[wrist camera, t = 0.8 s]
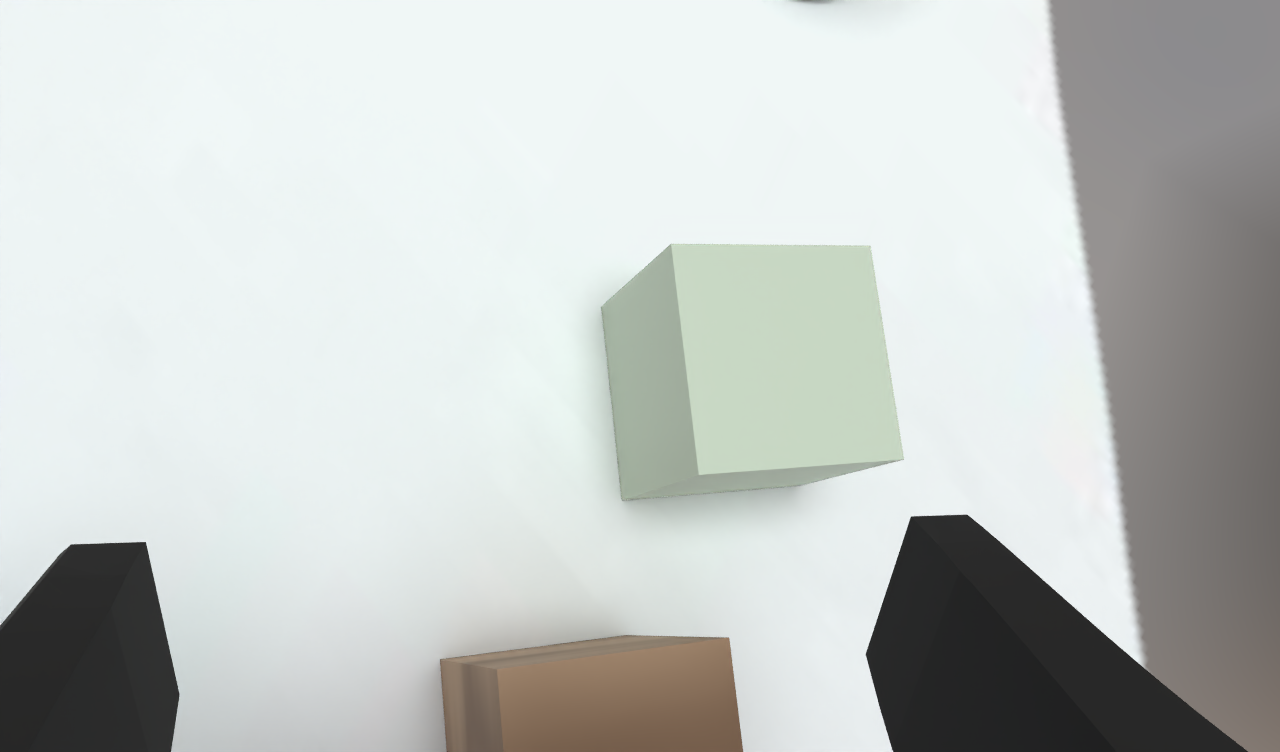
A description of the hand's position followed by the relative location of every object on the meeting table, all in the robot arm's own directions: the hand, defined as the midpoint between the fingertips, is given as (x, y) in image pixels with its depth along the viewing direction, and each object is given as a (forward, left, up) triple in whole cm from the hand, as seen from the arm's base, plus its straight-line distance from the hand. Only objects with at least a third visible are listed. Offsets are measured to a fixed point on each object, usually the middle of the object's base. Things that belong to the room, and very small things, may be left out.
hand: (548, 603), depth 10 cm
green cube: (+5, -9, -15) cm, 18 cm away
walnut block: (-3, -4, -15) cm, 16 cm away
